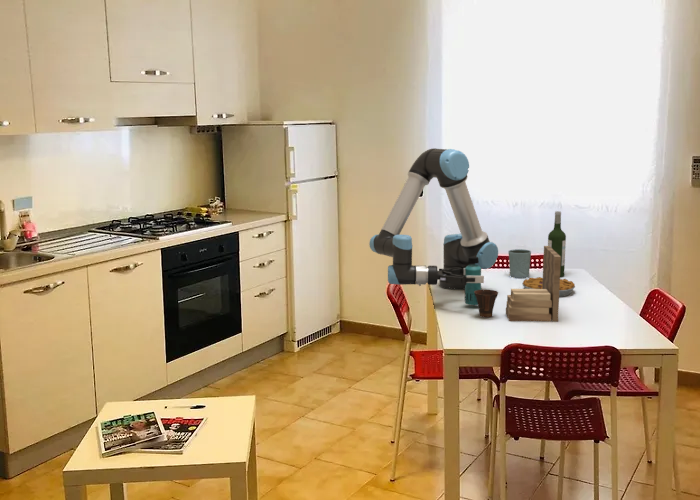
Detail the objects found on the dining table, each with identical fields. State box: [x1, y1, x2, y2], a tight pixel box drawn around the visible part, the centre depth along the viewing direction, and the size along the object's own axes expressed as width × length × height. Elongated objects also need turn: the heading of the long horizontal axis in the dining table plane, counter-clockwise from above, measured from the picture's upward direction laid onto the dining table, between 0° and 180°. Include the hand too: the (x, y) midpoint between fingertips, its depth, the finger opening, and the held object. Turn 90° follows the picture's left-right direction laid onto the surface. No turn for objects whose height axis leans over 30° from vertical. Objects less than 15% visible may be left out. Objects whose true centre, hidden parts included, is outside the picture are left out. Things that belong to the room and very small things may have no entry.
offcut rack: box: [505, 245, 561, 322], centre depth 281 cm, size 22×18×24 cm
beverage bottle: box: [464, 257, 482, 306], centre depth 291 cm, size 6×7×20 cm
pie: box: [521, 276, 576, 298], centre depth 316 cm, size 22×22×5 cm
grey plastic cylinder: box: [508, 248, 532, 279], centre depth 345 cm, size 10×10×12 cm
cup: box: [474, 288, 499, 318], centre depth 279 cm, size 9×9×10 cm
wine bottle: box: [547, 210, 567, 278], centre depth 344 cm, size 8×8×30 cm
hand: (482, 275), depth 291 cm, fingers open, 13 cm apart
